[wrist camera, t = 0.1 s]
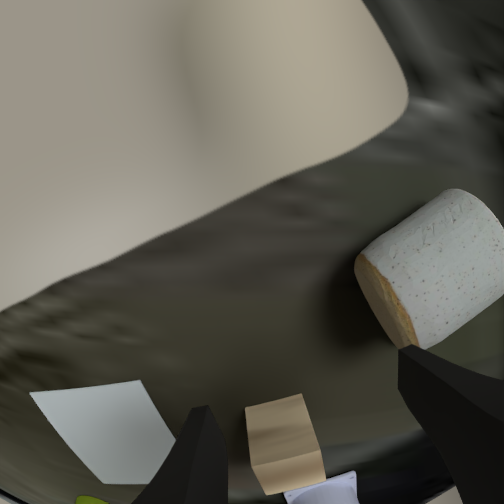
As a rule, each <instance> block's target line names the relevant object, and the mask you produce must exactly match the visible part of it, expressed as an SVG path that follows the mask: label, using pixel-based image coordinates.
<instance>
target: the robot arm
mask: <svg viewBox="0 0 504 504" xmlns="http://www.w3.org/2000/svg"><path fill="white" fill-rule="evenodd" d="M398 389H399V391H400V393H401V395H402V397H403V399H404V401H405V403H406V405H407V407H408V408H409V410H410V411H411V413H412V414H413V415H414V417H415V418H416V420H417V421H418V422H419V424H420V425H421V427H422V428H423V429H424V431H425V432H426V433H427V435H428V436H429V438H430V439H431V440H432V442H433V443H434V445H435V446H436V448H437V449H438V451H439V452H440V454H441V456H442V458H443V460H444V462H445V464H446V466H447V468H448V470H449V472H450V474H451V476H452V478H453V480H454V483H455V485H456V487H457V489H458V492H459V494H460V497H461V500H462V502H463V504H504V380H500V379H496V378H492V377H488V376H485V375H482V374H479V373H476V372H473V371H471V370H468V369H465V368H463V367H461V366H458V365H456V364H453V363H451V362H449V361H447V360H445V359H443V358H440V357H438V356H436V355H434V354H432V353H430V352H428V351H426V350H424V349H422V348H420V347H418V346H416V345H413V344H411V345H408V346H406V347H404V348H401V349H399V350H398ZM283 493H284V496H285V498H286V501H287V503H288V504H359V502H358V499H357V490H356V473H355V471H350V472H347V473H344V474H341V475H338V476H335V477H332V478H329V479H326V481H323V482H320V483H316V484H313V485H309V486H305V487H301V488H297V489H293V490H289V491H285V492H283ZM132 504H228V459H227V450H226V443H225V438H224V436H223V434H222V432H221V430H220V429H219V427H218V425H217V423H216V421H215V419H214V417H213V415H212V413H211V411H210V408H209V406H208V405H207V406H202V407H196V408H192V409H191V411H190V413H189V415H188V417H187V419H186V421H185V423H184V425H183V427H182V429H181V431H180V433H179V435H178V437H177V439H176V441H175V443H174V445H173V447H172V448H171V450H170V452H169V454H168V455H167V457H166V459H165V460H164V462H163V464H162V465H161V467H160V468H159V470H158V471H157V473H156V474H155V476H154V477H153V479H152V480H151V481H150V483H149V484H148V485H147V486H146V488H145V489H144V490H143V491H142V493H141V494H140V495H139V496H138V497H137V498H136V499H135V500H134V501H133V502H132Z"/></svg>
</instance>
